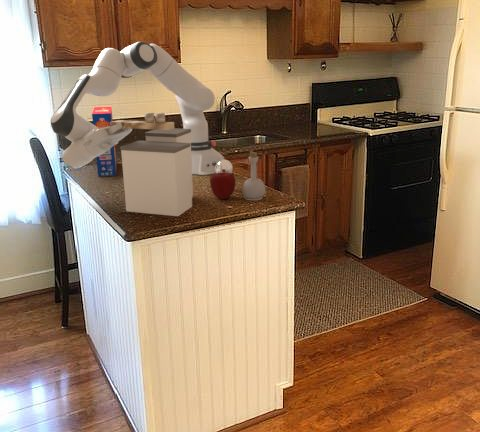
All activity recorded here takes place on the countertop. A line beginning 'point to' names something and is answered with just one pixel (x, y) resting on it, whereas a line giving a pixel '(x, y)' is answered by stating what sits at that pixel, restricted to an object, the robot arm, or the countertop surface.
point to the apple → (222, 184)
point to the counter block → (158, 173)
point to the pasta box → (108, 159)
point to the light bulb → (224, 166)
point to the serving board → (147, 122)
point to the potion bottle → (253, 182)
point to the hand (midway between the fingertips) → (126, 123)
